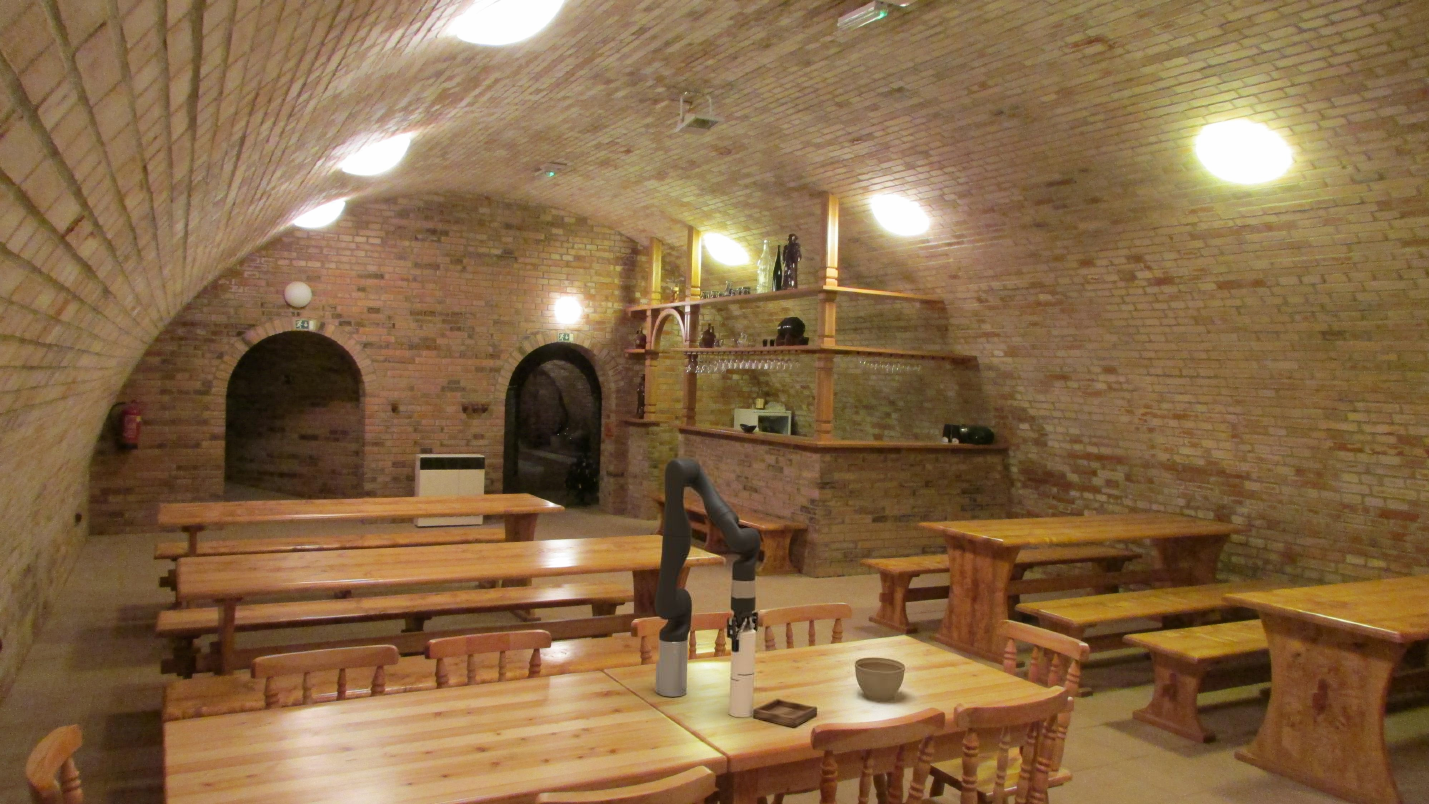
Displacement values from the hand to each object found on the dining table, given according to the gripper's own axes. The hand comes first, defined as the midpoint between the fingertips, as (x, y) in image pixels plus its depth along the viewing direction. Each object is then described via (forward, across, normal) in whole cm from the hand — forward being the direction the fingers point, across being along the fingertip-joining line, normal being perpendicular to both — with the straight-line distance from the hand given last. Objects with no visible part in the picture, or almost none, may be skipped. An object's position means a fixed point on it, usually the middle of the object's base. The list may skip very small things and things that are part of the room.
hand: (742, 649), depth 292 cm
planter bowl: (+20, -42, +26) cm, 53 cm away
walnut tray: (+19, -6, +12) cm, 24 cm away
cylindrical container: (+20, 0, 0) cm, 20 cm away
